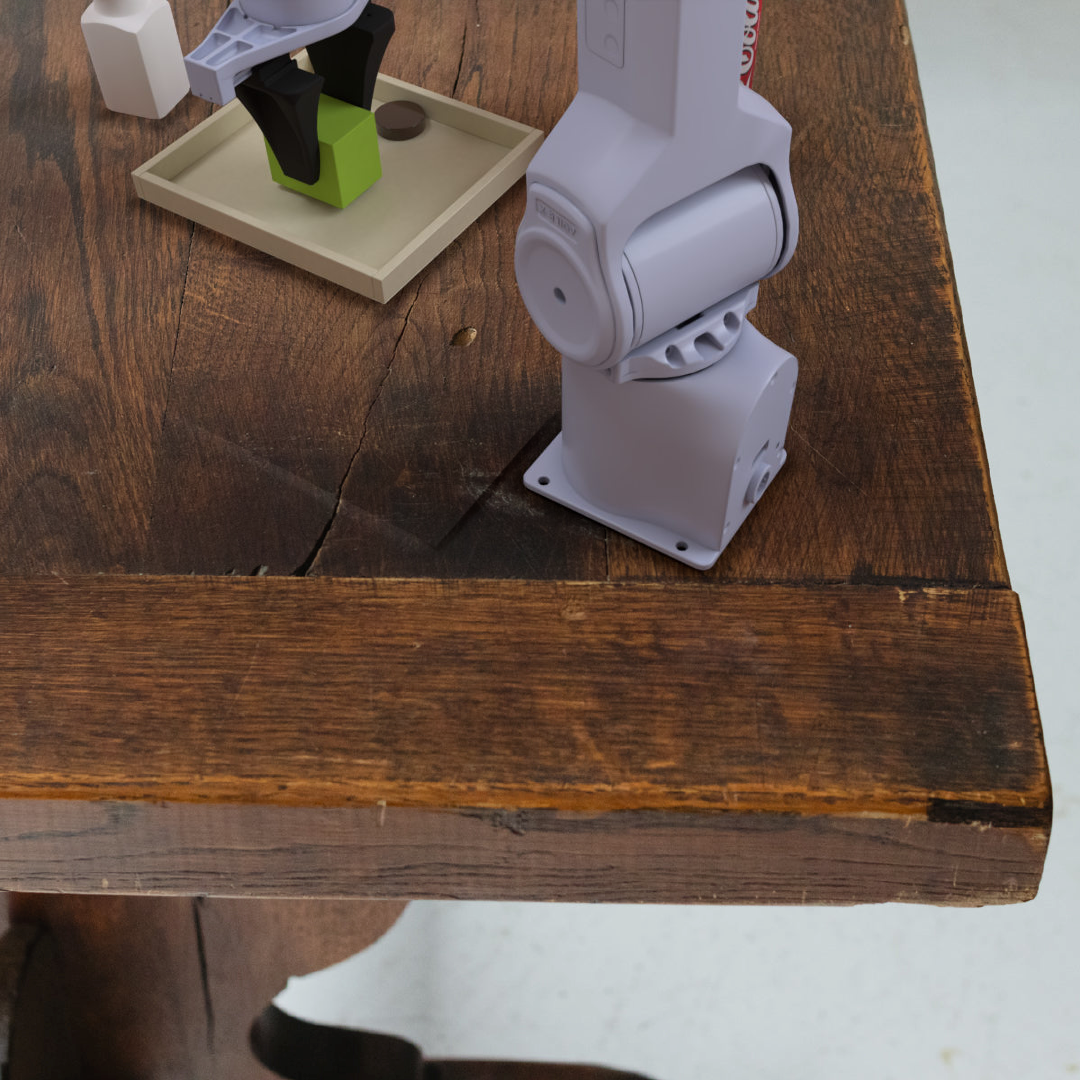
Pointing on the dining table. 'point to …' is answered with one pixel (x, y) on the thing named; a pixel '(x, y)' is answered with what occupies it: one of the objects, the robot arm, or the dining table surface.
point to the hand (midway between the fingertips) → (326, 157)
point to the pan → (373, 217)
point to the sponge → (339, 154)
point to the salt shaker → (136, 55)
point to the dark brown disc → (400, 120)
